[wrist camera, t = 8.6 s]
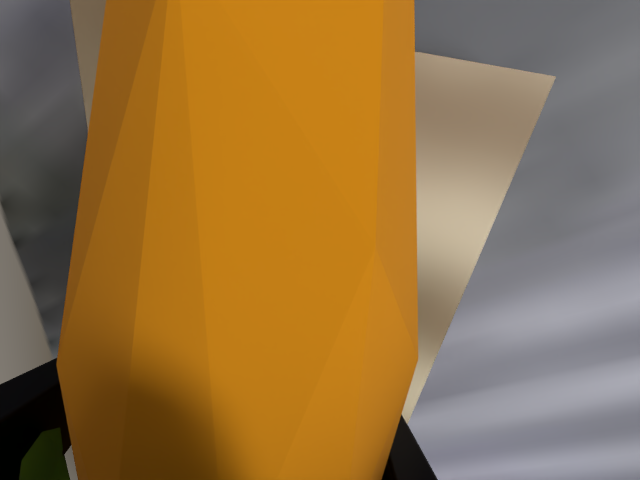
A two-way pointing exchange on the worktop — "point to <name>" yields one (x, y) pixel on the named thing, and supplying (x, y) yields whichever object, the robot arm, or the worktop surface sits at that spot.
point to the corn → (242, 245)
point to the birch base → (429, 167)
